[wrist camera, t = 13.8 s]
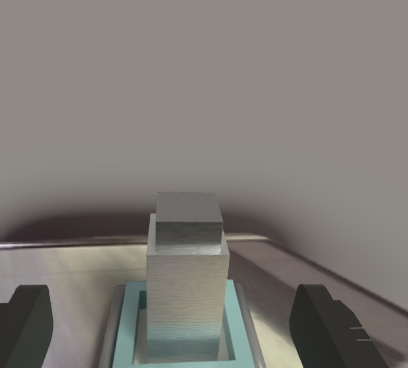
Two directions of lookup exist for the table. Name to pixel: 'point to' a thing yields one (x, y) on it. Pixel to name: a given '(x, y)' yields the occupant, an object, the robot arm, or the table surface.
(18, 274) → the table surface
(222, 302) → the stepped metal tower
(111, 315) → the tray
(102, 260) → the table surface
